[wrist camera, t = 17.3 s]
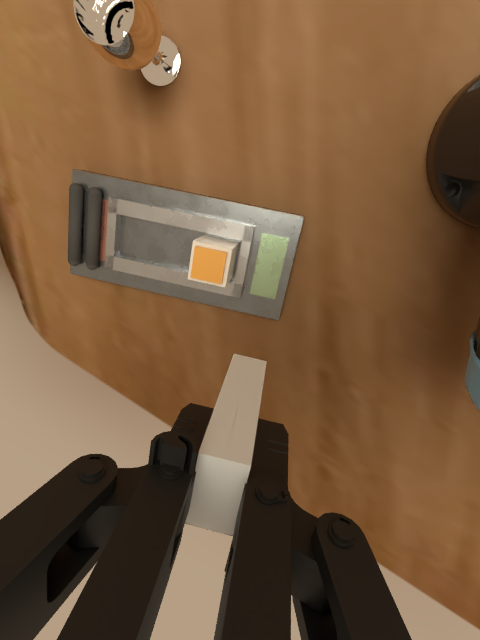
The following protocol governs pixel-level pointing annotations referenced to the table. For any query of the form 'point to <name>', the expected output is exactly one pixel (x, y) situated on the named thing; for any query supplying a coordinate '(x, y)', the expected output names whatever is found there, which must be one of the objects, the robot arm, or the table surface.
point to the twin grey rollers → (76, 226)
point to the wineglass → (129, 37)
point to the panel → (188, 243)
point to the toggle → (212, 260)
